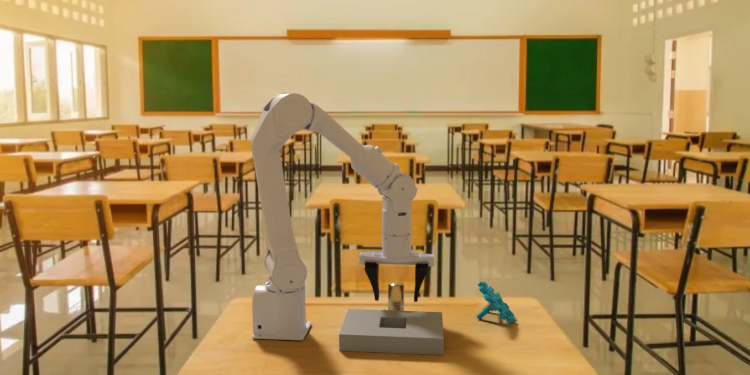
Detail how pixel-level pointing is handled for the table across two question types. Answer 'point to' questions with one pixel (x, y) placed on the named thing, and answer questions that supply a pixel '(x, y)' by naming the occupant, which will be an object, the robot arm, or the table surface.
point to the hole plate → (392, 332)
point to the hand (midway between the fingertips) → (396, 299)
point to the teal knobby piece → (494, 303)
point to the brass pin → (396, 296)
